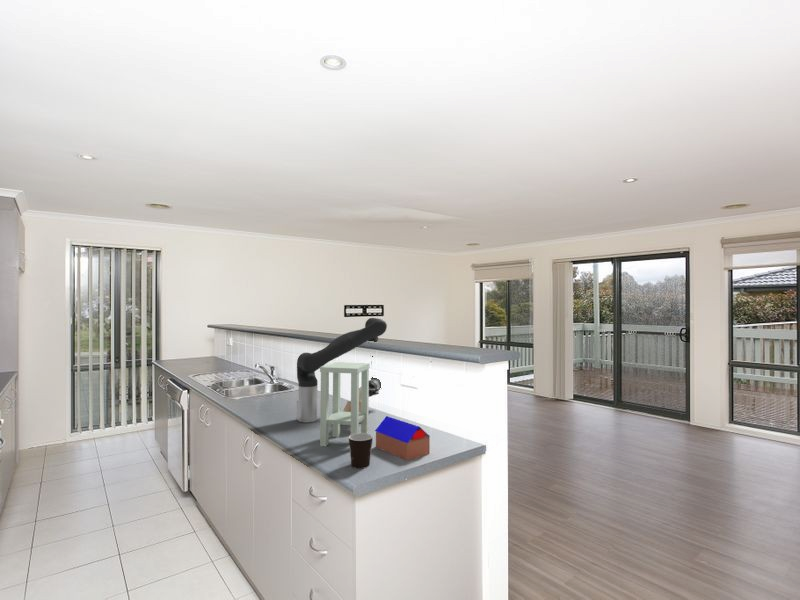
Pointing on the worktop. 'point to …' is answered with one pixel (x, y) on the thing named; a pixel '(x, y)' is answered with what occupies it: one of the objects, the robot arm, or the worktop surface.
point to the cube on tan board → (348, 405)
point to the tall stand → (337, 415)
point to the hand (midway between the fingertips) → (360, 394)
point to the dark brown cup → (360, 449)
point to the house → (402, 439)
